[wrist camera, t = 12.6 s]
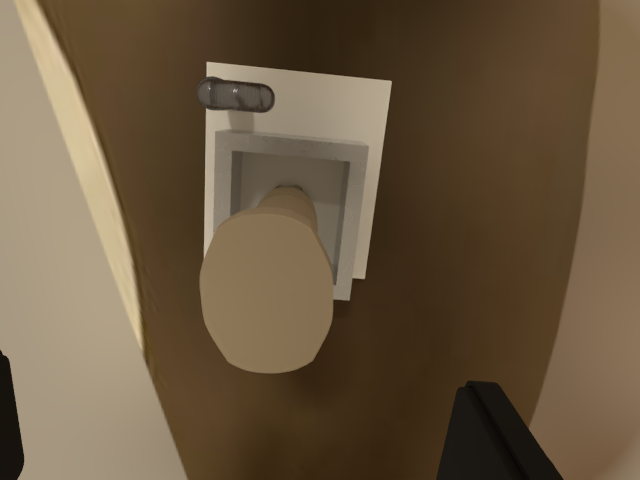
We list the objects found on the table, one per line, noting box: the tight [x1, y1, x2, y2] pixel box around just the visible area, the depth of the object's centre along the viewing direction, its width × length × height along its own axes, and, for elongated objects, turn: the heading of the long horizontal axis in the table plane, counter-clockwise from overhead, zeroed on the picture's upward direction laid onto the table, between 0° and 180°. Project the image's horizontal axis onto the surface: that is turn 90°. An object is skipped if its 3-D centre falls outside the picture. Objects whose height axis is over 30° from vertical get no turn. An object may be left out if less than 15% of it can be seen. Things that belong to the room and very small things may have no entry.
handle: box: [200, 185, 333, 373], centre depth 22 cm, size 5×6×15 cm
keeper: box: [197, 62, 392, 301], centre depth 26 cm, size 14×12×9 cm
